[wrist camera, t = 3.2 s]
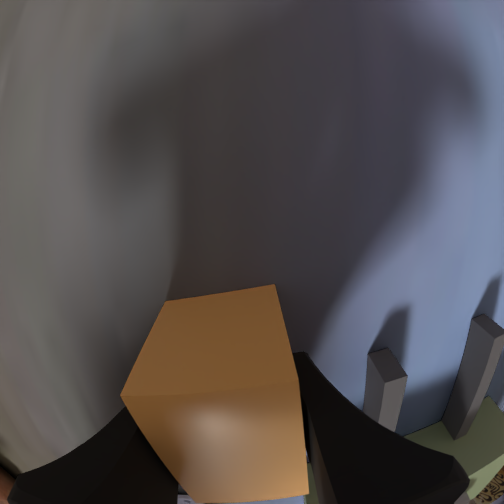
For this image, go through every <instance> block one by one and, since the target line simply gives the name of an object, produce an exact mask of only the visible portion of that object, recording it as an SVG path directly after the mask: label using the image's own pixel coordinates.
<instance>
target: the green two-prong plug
mask: <svg viewBox="0 0 504 504" xmlns="http://www.w3.org/2000/svg"><path fill="white" fill-rule="evenodd" d="M503 345H504V329H503V328H502V327H501V326H499V325H498V324H497V323H496V322H494V321H493V320H492V319H491V318H489V317H488V316H487V315H485V314H483V315H480V316H478V317H476V318H473V319H472V320H471V325H470V330H469V334H468V339H467V343H466V347H465V351H464V354H463V358H462V362H461V365H460V369H459V372H458V375H457V379H456V382H455V385H454V388H453V391H452V394H451V397H450V399H449V402H448V405H447V408H446V410H445V413H444V415H443V418H442V420H441V421H440V422H437V423H435V424H433V425H431V426H428V427H426V428H424V429H421V430H419V431H416V432H414V433H411V434H409V435H406V436H403V437H404V438H406V439H408V440H410V441H413V442H415V443H417V444H420V445H422V446H424V447H427V448H430V449H433V450H436V451H439V452H442V453H445V454H449V455H452V456H454V457H455V459H456V460H457V461H458V462H459V463H460V465H461V466H462V467H463V469H464V470H465V472H466V473H467V475H468V477H469V479H470V483H469V486H468V487H467V489H466V490H465V492H464V493H463V494H462V495H461V496H460V497H459V498H458V499H457V500H456V501H455V502H454V504H468V502H469V501H470V500H472V499H473V498H475V497H476V496H477V495H478V494H479V493H480V492H481V491H482V490H483V489H484V488H485V486H486V485H487V484H488V483H489V482H490V481H491V480H492V479H493V477H494V476H495V475H496V474H497V473H498V472H499V470H500V469H501V468H502V467H503V466H504V414H503V412H502V411H501V410H500V409H499V407H498V406H497V405H496V404H495V402H494V401H493V400H492V399H491V398H490V396H488V397H486V398H485V399H484V397H485V394H486V392H487V390H488V387H489V385H490V382H491V380H492V377H493V374H494V372H495V369H496V366H497V364H498V361H499V358H500V355H501V352H502V349H503ZM407 377H408V375H407V374H406V372H405V371H404V370H403V368H402V367H401V365H400V364H399V362H398V361H397V359H396V358H395V357H394V355H393V354H392V352H391V351H390V349H389V348H387V349H383V350H380V351H376V352H372V353H369V354H368V359H367V374H366V386H365V397H364V406H363V413H365V414H366V415H368V416H369V417H370V418H372V419H373V420H375V421H376V422H378V423H379V424H381V425H382V426H384V427H386V428H388V429H389V430H391V431H393V432H395V429H396V425H397V421H398V417H399V413H400V409H401V405H402V401H403V396H404V391H405V387H406V382H407ZM307 473H308V486H309V494H306V495H304V504H319V502H318V496H317V491H316V486H315V480H314V475H313V471H312V467H311V464H310V463H307Z"/></svg>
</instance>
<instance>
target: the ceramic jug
mask: <svg viewBox="0 0 504 504" xmlns="http://www.w3.org/2000/svg"><path fill="white" fill-rule="evenodd" d="M15 481H16V480H15V479H14V478H13V477H12V476H11V475H10V474H9V473H8V472H7V471H5V470H4V469H3V468H2V467H0V504H9V503H8V501H7V498H8V495H9V493H10V491H11V489H12V487H13V485H14V483H15Z"/></svg>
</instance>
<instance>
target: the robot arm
mask: <svg viewBox="0 0 504 504" xmlns="http://www.w3.org/2000/svg"><path fill="white" fill-rule="evenodd" d="M292 355H293V359H294V363H295V367H296V371H297V375H298V380H299V389H300V398H301V408H302V418H303V428H304V439H305V448H306V451H307V454H308V457H309V461H310V464H311V467H312V471H313V475H314V480H315V486H316V491H317V496H318V502H319V504H454V502H455V501H456V500H457V499H458V498H459V497H460V496H461V495H462V494H463V493H464V492H465V490H466V489H467V487H468V486H469V483H470V479H469V477H468V475H467V473H466V472H465V470H464V469H463V467H462V466H461V465H460V463H459V462H458V461H457V460H456V459H455V457H454V456H452V455H449V454H445V453H442V452H439V451H436V450H433V449H430V448H427V447H424V446H422V445H420V444H417V443H415V442H413V441H410V440H408V439H406V438H404V437H402V436H401V435H399V434H397V433H395V432H393V431H391V430H389V429H388V428H386V427H384V426H382V425H381V424H379V423H378V422H376V421H375V420H373V419H372V418H370V417H369V416H368V415H366V414H365V413H363V412H362V411H361V410H360V409H358V408H357V407H356V406H355V405H353V404H352V403H351V402H350V401H349V400H348V399H347V398H345V397H344V396H343V395H342V394H341V393H340V392H339V391H338V390H337V389H336V388H335V387H334V386H333V385H332V384H331V383H330V382H329V381H328V380H327V379H326V378H325V376H324V375H323V374H322V373H321V372H320V370H319V369H318V368H317V367H316V366H315V364H314V363H313V361H312V360H311V359H310V357H309V356H308V354H307V353H306V352H304V351H303V352H298V353H293V354H292ZM178 484H179V483H178V481H177V480H176V479H175V478H174V476H173V475H172V474H171V472H170V471H169V470H168V468H167V467H166V466H165V464H164V463H163V462H162V460H161V459H160V458H159V456H158V455H157V453H156V452H155V450H154V449H153V448H152V446H151V445H150V443H149V442H148V440H147V439H146V437H145V436H144V434H143V433H142V431H141V430H140V428H139V427H138V425H137V423H136V422H135V420H134V419H133V417H132V415H131V414H130V412H129V410H128V409H127V407H126V406H125V407H124V408H123V409H122V410H121V411H120V412H119V413H118V414H117V415H116V416H115V417H114V418H113V419H112V420H111V421H110V422H109V423H108V424H107V425H106V426H105V427H104V428H103V429H101V430H100V431H99V432H98V433H97V434H95V435H94V436H93V437H91V438H90V439H89V440H87V441H86V442H85V443H83V444H82V445H80V446H79V447H77V448H76V449H74V450H72V451H71V452H69V453H68V454H66V455H64V456H62V457H61V458H59V459H57V460H55V461H53V462H51V463H49V464H46V465H44V466H42V467H39V468H37V469H34V470H31V471H28V472H25V473H22V474H19V475H18V477H17V479H16V481H15V483H14V485H13V487H12V489H11V491H10V493H9V495H8V498H7V501H8V503H9V504H205V503H195V502H194V501H193V499H192V498H191V497H190V496H189V495H178ZM491 504H504V494H503V495H502V496H501V497H499V498H498V499H497V500H495V501H494V502H492V503H491Z"/></svg>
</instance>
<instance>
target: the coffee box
mask: <svg viewBox="0 0 504 504" xmlns="http://www.w3.org/2000/svg"><path fill="white" fill-rule="evenodd" d="M503 494H504V466H503V467H502V468H501V469H500V470H499V472H498V473H497V474H496V475H495V476H494V477H493V479H492V480H491V481H490V482H489V483H488V484H487V485H486V486H485V488H484V489H483V490H482V491H481V492H480V493H479V494H478V495H477V496H476V497H475V498H473V499H472V500H470V501H469V502H468V504H491V503H492V502H494V501H495V500H497V499H498V498H499V497H501V496H502V495H503Z"/></svg>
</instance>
